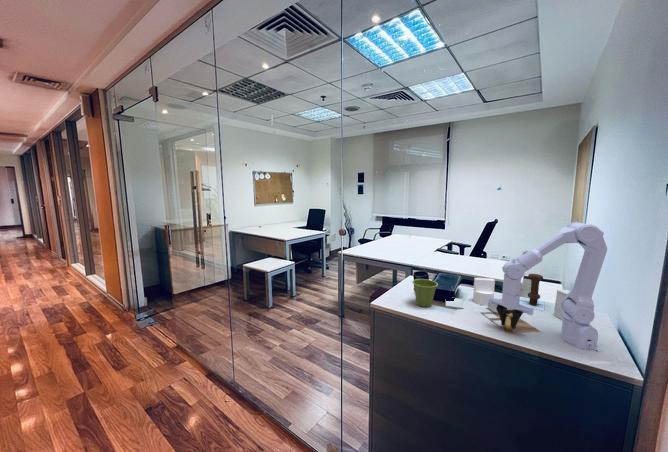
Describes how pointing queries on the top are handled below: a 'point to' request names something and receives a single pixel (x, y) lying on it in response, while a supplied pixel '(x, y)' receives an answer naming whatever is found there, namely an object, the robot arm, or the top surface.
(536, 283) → the bolt
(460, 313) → the top surface
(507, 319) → the pin
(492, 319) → the board
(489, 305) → the housing
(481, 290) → the base with upright slab
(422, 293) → the plant pot
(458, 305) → the hard drive
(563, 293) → the skincare box
